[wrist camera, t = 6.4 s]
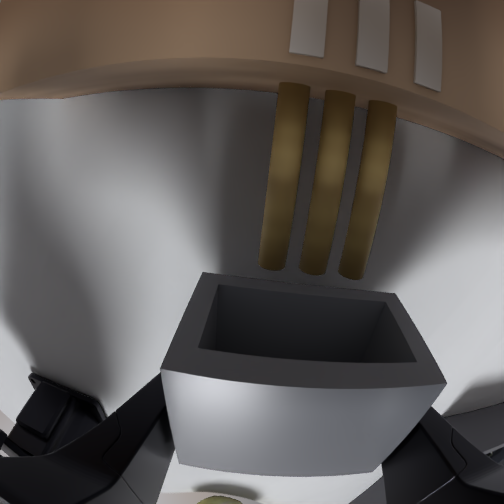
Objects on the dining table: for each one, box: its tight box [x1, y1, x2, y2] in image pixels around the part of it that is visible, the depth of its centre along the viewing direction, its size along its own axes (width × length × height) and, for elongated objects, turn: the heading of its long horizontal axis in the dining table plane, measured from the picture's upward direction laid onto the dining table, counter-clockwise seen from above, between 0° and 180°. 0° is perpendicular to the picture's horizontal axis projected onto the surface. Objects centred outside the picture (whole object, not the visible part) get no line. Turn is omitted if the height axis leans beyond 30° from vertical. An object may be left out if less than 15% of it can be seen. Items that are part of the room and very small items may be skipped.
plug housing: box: [160, 272, 447, 477], centre depth 8 cm, size 5×6×4 cm
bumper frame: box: [349, 403, 504, 504], centre depth 18 cm, size 28×21×4 cm
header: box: [0, 0, 504, 280], centre depth 6 cm, size 11×20×4 cm, turn 84°
